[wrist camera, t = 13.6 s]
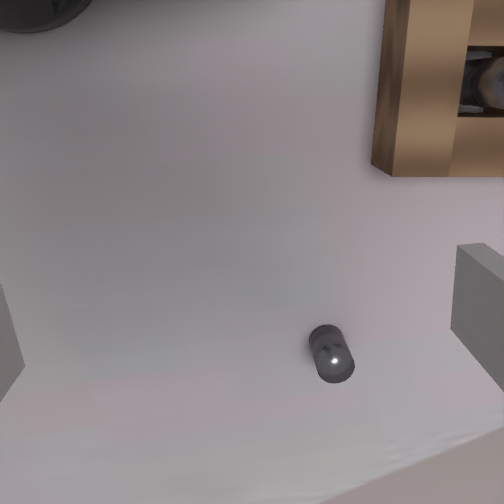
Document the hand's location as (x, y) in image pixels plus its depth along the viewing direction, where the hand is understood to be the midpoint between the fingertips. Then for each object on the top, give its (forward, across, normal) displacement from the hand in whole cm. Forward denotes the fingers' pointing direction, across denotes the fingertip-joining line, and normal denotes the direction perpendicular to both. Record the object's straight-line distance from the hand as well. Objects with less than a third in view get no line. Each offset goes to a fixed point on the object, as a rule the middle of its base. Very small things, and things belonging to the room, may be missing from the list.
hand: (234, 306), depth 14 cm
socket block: (+30, +20, +4) cm, 36 cm away
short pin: (+30, +8, -20) cm, 37 cm away
